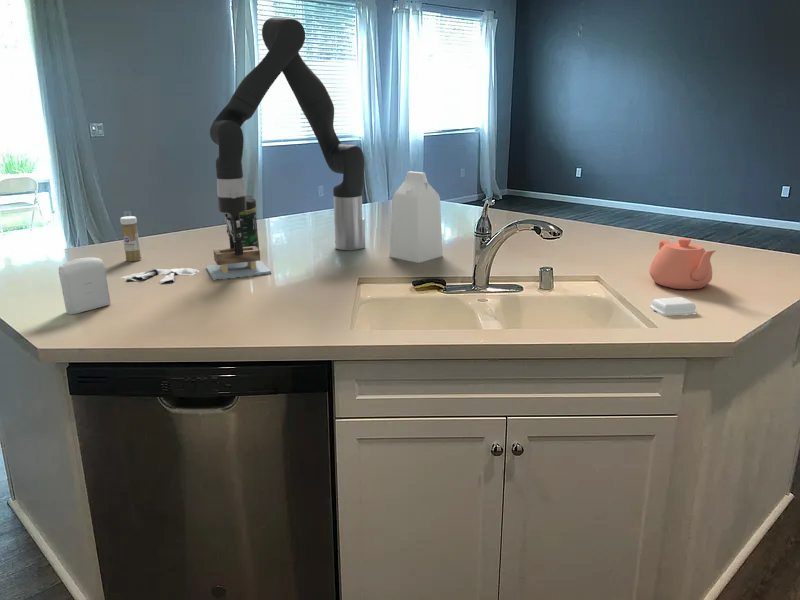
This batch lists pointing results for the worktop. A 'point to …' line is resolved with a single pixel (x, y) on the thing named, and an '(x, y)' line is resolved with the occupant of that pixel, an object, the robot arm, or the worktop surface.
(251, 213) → the coffee jar
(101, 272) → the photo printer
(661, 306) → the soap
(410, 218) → the milk
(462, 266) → the worktop surface
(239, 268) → the panel
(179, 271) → the cloth
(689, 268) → the teapot
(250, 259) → the frame
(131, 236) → the sprinkles bottle
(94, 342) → the worktop surface
